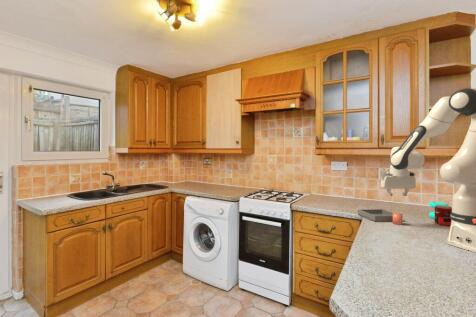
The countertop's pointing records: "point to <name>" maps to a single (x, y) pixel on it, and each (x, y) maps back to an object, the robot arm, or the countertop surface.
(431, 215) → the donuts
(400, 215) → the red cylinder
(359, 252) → the countertop surface
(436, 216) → the canned food
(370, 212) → the grey bin
